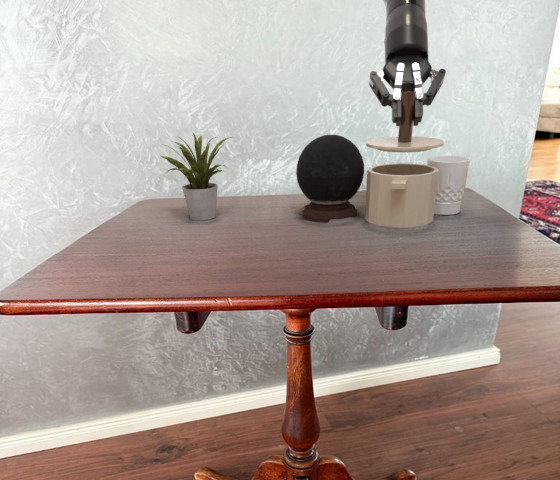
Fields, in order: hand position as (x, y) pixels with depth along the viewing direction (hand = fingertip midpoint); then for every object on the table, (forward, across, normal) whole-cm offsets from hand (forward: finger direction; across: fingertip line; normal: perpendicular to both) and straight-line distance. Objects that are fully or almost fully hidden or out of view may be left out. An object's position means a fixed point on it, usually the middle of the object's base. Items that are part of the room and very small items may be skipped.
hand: (407, 122), depth 93 cm
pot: (+11, 0, +14) cm, 18 cm away
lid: (+1, 0, +4) cm, 4 cm away
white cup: (+6, +10, +19) cm, 22 cm away
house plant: (+7, -39, +18) cm, 43 cm away
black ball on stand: (+7, -13, +18) cm, 23 cm away
